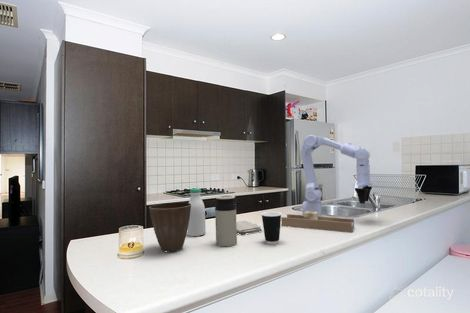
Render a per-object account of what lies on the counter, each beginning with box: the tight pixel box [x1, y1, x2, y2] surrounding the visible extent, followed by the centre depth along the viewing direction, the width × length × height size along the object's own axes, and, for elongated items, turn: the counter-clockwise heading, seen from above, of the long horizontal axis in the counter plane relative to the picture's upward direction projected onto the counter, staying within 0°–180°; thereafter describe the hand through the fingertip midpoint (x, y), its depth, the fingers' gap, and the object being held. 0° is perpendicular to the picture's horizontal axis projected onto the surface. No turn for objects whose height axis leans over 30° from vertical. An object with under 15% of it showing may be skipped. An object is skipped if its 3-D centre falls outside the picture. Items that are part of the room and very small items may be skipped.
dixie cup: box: [260, 211, 282, 245], centre depth 106 cm, size 8×8×11 cm
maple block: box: [304, 211, 318, 220], centre depth 129 cm, size 5×5×4 cm
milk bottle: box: [187, 187, 206, 237], centre depth 120 cm, size 8×8×20 cm
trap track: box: [281, 213, 355, 234], centre depth 128 cm, size 31×9×4 cm, turn 60°
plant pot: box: [148, 201, 191, 253], centre depth 101 cm, size 15×15×16 cm
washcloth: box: [236, 220, 263, 235], centre depth 127 cm, size 12×18×3 cm, turn 29°
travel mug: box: [214, 194, 238, 247], centre depth 106 cm, size 8×8×18 cm
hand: (364, 202), depth 133 cm, fingers open, 7 cm apart
